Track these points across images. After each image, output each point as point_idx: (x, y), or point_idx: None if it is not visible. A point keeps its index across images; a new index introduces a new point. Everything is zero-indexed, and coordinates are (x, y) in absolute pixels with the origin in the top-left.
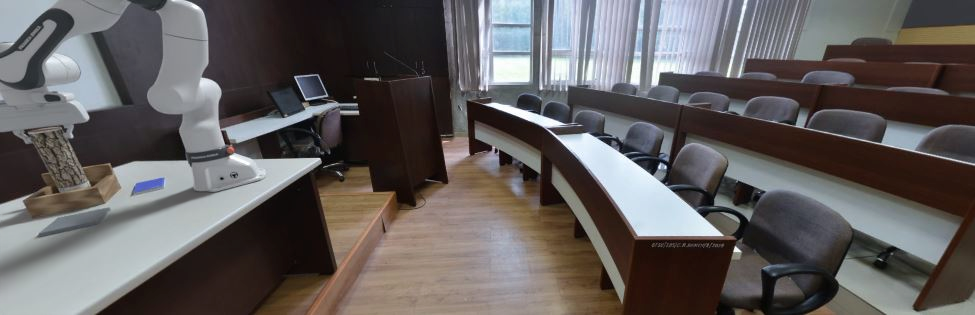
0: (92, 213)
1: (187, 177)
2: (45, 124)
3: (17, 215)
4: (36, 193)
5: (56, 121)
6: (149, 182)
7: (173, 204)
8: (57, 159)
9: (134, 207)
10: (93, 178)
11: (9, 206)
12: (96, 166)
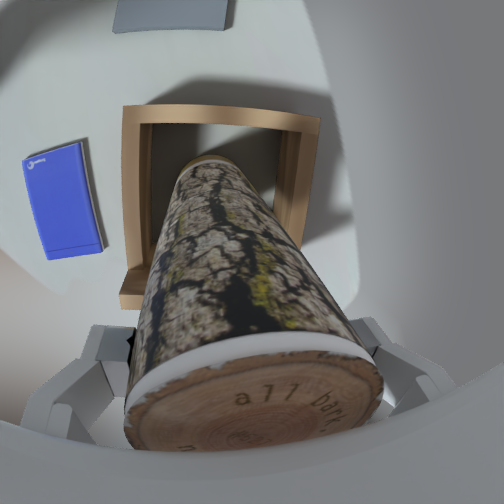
0: (144, 3)
1: (4, 232)
2: (213, 482)
3: (334, 178)
4: (303, 185)
5: (71, 495)
6: (65, 230)
7: (8, 8)
8: (212, 196)
9: (67, 22)
10: None
11: (358, 276)
12: None
